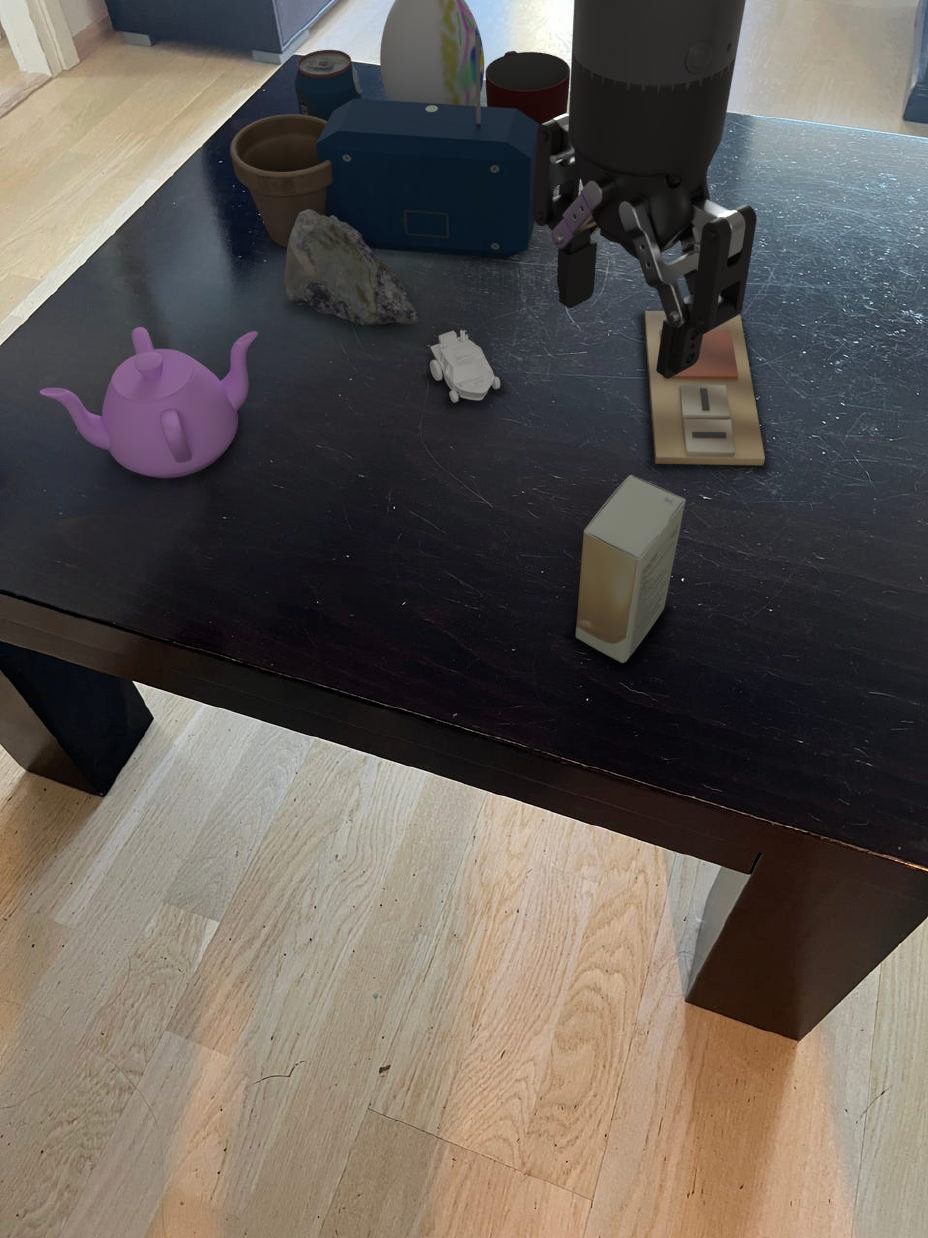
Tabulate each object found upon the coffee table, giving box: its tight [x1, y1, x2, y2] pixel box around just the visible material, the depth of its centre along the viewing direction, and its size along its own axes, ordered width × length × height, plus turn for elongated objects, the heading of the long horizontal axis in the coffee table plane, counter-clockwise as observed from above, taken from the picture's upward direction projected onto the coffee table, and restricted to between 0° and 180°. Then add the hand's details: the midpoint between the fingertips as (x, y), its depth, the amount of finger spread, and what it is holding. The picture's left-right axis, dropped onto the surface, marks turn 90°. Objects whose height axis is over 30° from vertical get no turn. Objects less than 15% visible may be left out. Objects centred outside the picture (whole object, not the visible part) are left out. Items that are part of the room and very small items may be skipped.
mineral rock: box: [283, 209, 419, 327], centre depth 92 cm, size 13×11×10 cm
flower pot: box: [229, 113, 333, 248], centre depth 100 cm, size 12×11×10 cm
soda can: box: [294, 49, 363, 122], centre depth 107 cm, size 7×7×12 cm
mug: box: [484, 50, 571, 125], centre depth 107 cm, size 12×9×11 cm
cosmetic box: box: [575, 474, 687, 664], centre depth 67 cm, size 6×4×12 cm
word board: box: [643, 310, 766, 466], centre depth 87 cm, size 20×9×1 cm, turn 176°
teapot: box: [39, 326, 258, 479], centre depth 83 cm, size 12×14×9 cm
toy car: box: [429, 329, 501, 404], centre depth 87 cm, size 5×8×4 cm, turn 26°
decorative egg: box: [379, 0, 485, 106], centre depth 113 cm, size 12×12×15 cm
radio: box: [316, 35, 540, 260], centre depth 95 cm, size 21×9×20 cm, turn 80°
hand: (622, 334), depth 57 cm, fingers open, 8 cm apart
